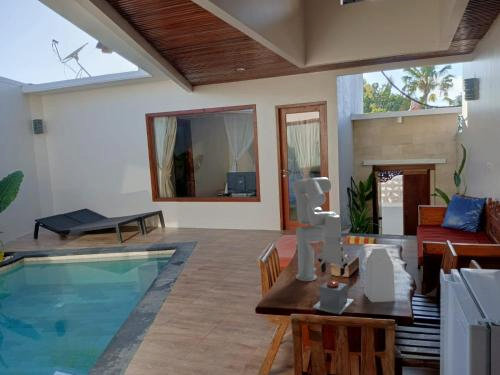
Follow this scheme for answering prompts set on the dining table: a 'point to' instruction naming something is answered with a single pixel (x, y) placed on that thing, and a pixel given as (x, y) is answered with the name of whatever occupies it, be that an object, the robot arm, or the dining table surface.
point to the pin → (332, 284)
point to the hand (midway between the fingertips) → (332, 273)
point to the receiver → (333, 299)
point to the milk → (379, 276)
